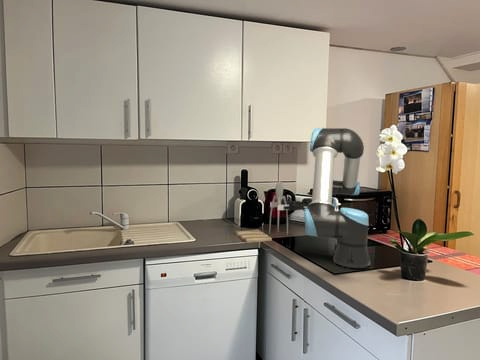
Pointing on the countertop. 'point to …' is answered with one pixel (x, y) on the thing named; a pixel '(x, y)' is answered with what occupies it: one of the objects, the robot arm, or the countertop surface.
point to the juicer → (279, 197)
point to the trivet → (253, 236)
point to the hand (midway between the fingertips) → (274, 206)
